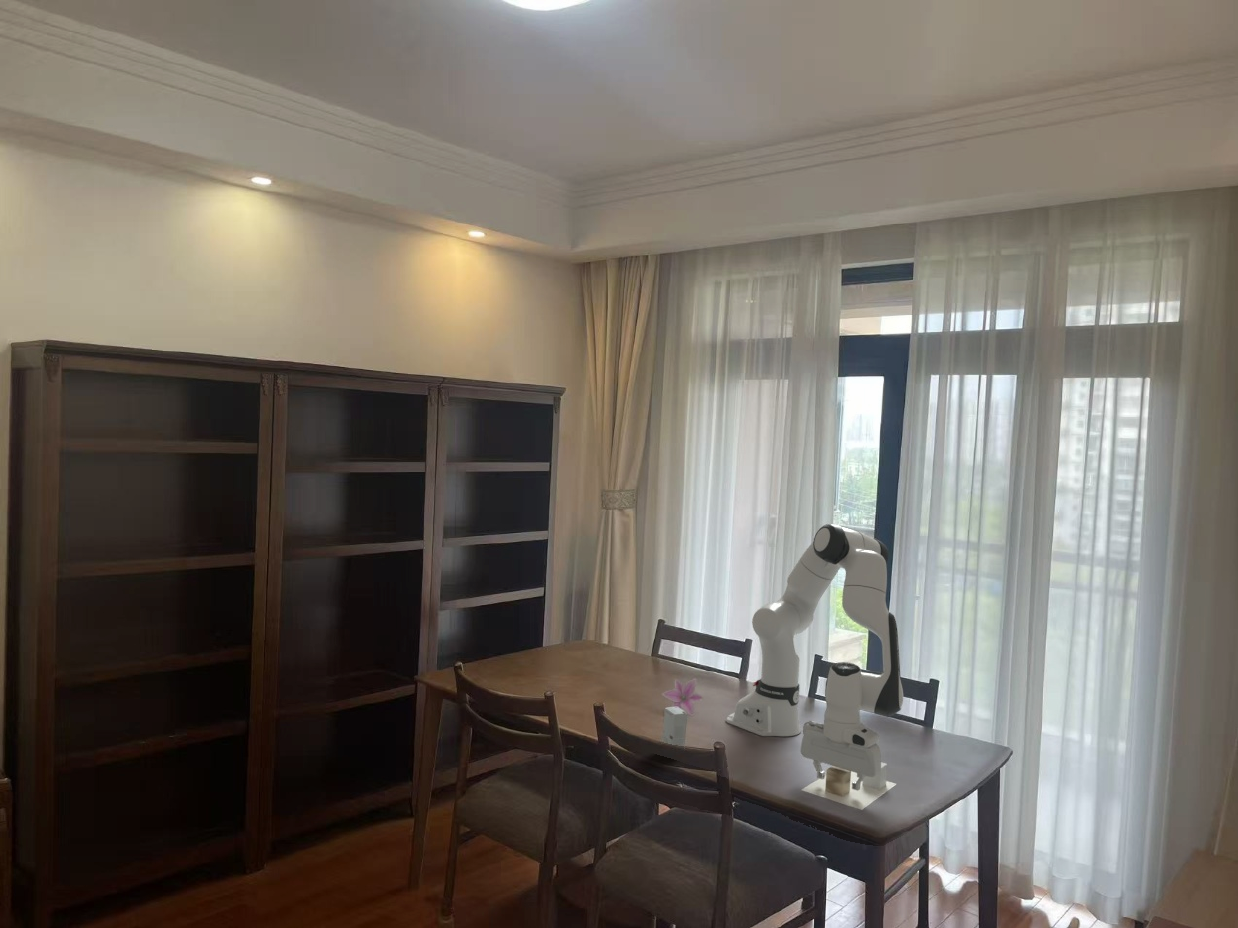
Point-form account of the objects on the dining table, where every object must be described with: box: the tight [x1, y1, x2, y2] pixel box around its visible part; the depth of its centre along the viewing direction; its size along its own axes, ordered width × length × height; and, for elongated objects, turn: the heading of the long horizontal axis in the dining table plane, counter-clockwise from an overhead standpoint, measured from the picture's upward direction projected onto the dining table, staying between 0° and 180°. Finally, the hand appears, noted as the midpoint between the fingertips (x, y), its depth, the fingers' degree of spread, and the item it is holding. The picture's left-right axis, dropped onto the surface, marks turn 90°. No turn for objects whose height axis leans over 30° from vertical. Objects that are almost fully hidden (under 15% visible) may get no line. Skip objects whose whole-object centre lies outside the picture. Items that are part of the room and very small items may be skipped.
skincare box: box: [661, 706, 689, 747], centre depth 240 cm, size 6×4×12 cm
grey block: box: [862, 761, 888, 790], centre depth 225 cm, size 4×4×6 cm
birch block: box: [825, 765, 851, 797], centre depth 220 cm, size 4×4×6 cm
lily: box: [661, 677, 704, 717], centre depth 278 cm, size 12×12×10 cm
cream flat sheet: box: [801, 771, 897, 811], centre depth 223 cm, size 16×22×1 cm
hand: (838, 783), depth 220 cm, fingers open, 8 cm apart
